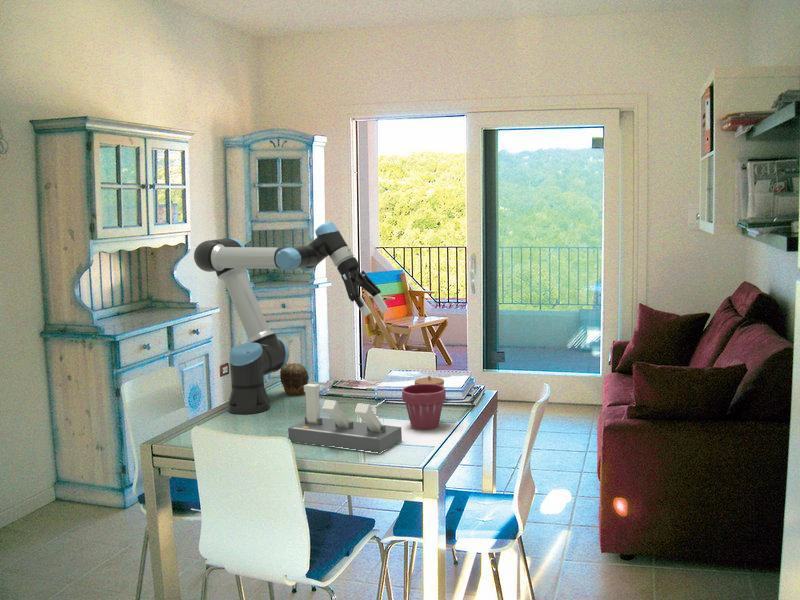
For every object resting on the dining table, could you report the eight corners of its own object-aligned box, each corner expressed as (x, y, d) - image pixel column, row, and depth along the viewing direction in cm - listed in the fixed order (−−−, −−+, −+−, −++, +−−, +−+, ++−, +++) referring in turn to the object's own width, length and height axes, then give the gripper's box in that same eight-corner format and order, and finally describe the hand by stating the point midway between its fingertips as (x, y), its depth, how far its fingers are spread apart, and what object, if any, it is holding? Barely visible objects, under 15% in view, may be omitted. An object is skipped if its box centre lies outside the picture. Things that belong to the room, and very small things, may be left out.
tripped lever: (311, 421, 278) (309, 383, 276) (321, 422, 276) (319, 384, 275) (305, 423, 276) (303, 385, 274) (316, 424, 274) (314, 386, 272)
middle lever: (341, 420, 273) (325, 399, 264) (352, 421, 271) (336, 400, 262) (338, 428, 271) (321, 408, 262) (349, 430, 269) (333, 409, 261)
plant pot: (396, 430, 281) (395, 392, 280) (413, 418, 294) (411, 382, 292) (437, 434, 276) (436, 395, 274) (452, 422, 288) (451, 384, 287)
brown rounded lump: (275, 394, 335) (273, 364, 333) (296, 389, 343) (295, 359, 341) (293, 398, 327) (291, 367, 326) (315, 392, 335) (313, 362, 334)
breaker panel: (313, 429, 285) (312, 410, 284) (401, 441, 270) (401, 420, 269) (288, 441, 273) (287, 421, 272) (380, 454, 257) (379, 432, 256)
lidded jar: (441, 396, 323) (440, 372, 322) (447, 403, 312) (446, 378, 311) (412, 398, 321) (412, 374, 320) (418, 405, 311) (417, 380, 309)
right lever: (373, 424, 267) (357, 403, 259) (384, 425, 266) (369, 404, 257) (370, 432, 266) (354, 411, 257) (381, 434, 264) (366, 412, 255)
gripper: (336, 257, 290) (368, 310, 287) (369, 254, 313) (399, 304, 309) (320, 269, 293) (352, 322, 290) (354, 266, 316) (384, 315, 312)
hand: (376, 313), depth 300 cm, fingers open, 13 cm apart
